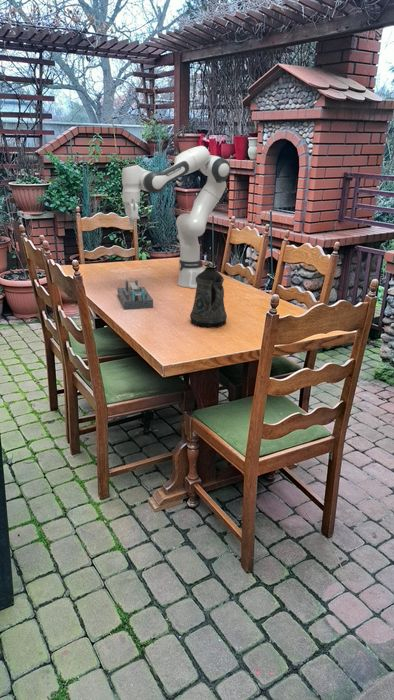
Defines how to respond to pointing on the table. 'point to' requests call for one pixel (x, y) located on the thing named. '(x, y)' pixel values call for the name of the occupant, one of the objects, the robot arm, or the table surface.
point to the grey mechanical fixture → (134, 297)
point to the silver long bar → (134, 287)
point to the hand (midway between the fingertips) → (132, 226)
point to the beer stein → (209, 300)
